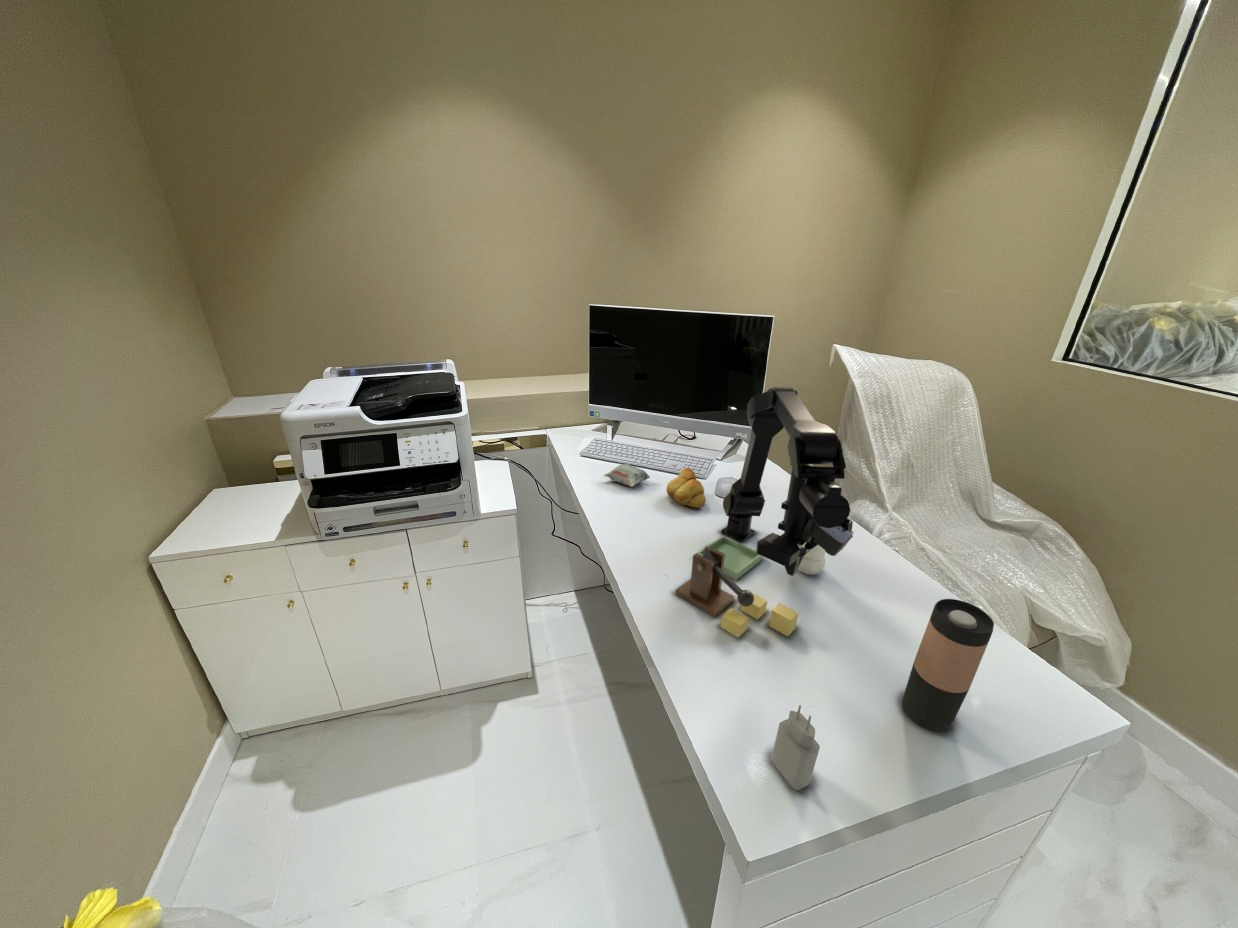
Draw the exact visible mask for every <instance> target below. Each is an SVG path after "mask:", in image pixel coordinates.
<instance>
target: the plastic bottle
mask: <svg viewBox="0 0 1238 928" xmlns="http://www.w3.org/2000/svg"><path fill="white" fill-rule="evenodd" d="M825 566H826V551H825V550H824V549H823V548H822V547H820V546H819V545H817V546H816V547H815V548H813V549H811V550H810V551H809V552H808V553H807V554H806V555H805V556H804V558H803V560H802V562H801V564H800V565H799V567H798V569H797V570H798V571H800V572H801V573H803V574H806V575H812V576H814V575H818V574H820V573H821V572H823V570H824V568H825Z"/></svg>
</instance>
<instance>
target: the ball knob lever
mask: <svg viewBox="0 0 1238 928" xmlns="http://www.w3.org/2000/svg"><path fill="white" fill-rule="evenodd" d="M703 557H705V558H707V559H709V560H711V561H712V562H714V567H713V572H714V573H715V574H716V575H717V576H718V577H719V578H720V579H721V580H722V583H724V584H725V585H727V587H729V589H731V590H732V592H733V593H735V595H737V596H736V597H737V602H738V604H739V605H740V606H741V605H742V606H744V607H748V606H751V605H752V604H753V602H754V595H753V594H754V593H753V592H752V591H750V590H748V589H742V588H741V586H739V585H738V584H737V583H736V582H735V581H734V579H733V578H731V577H729V576H727V575H726V574H725V573H724V572H723V571H722V570H721V569H720V568H719V567H718V566H717V563H718V562H719V561H718V560H717V559H716V558H715V557H714V556H713V555H712V554H711V553H710V552H708V553H706V554H705V555H703ZM752 593H753V594H752Z"/></svg>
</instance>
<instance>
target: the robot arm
mask: <svg viewBox="0 0 1238 928" xmlns="http://www.w3.org/2000/svg"><path fill="white" fill-rule="evenodd" d="M746 418H747V420H748V423H749V426H750V428H751V432H750V437H749V441H748V444H747V449H746V453H745V458H744V462H743V467H742V471H741V475H740V477H739V479H737V480H736V481H735V482H734V483H732V484H731V487H730V491H729V493H727V494H726V495H725V497H723V499H722V509H723V510H724V514H725V515H726V517H728V518H727V523H726V524H727V525H726V527H724V528H722V529H721V531H720V532H721V533H722V534H724V535H726V536H728V537H730V538H733V539H735V540H736V541H739V542H741V543H743V542H745V541H746V540H748V539H749V538H750V537H752V536H753V535H755V534H756V530H754V529H752V528H751V526H752V521H753V517H761V514H762V512H763V509H764V506H765V503H766V500H765V496H764V493H763V490H762V488H761V482H762V478H763V475H764V471H765V468H766V464H767V461H768V457H769V453H770V450H771V446H772V442H773V439H774V437H775V436H777V435H778V434H779V433H780V432H781V431H783V429H784V430H785V431H786V433H787V435H788V436H789V438H788V442H787V453H788V458H789V461H790V462H789V465H790V466H791V473H790V478H789V485H788V490H787V496H786V500H784V501H782V502H781V506H780V508H781V509H783V510H784V514H783V520H781V521H780V522H779V523H778V524H777V529H778V530H781V531H783V533H782V534H780V535H779V534H777V533H775V532H772V533H769V534H768V535H766V536H764V537H763V538H761V539H759V540H758V541H757V542H756V548H755V551H756V552H757V554H759V555H761V556H762V558H766V559H768V560H769V561H773V562H774V563H777V564H779V565H781V566H783V567H784V569H785V572H786V574H787V575H789V576H790V577H793V576H794V575H795V574H796V573H797V571H798V570H799V569H798V567H799V565H800V564H801V562H802V560H803V558H804V556H805V555H806V554H807V553H808V552H809V551H810V550H811V549H813V548H815V547H816V546H817V545H819V546H820V547H822V548H823V549H824V550H825V551H826V552H825V554H827V555H829V556H831V557H835V556H836V555H838V554H839V553H840V552H841V551H843V549H844V548H845V547H846V546H847V544H848V543H849V542H850V540H851V539H852V538H853V534H854V533H855V531H853V522H854V521H853V520H852V519H851V518H850V517H849V516H850V513H851V506H850V503H849V501H848V499H847V498H846V497H845V496H844V495H843V494H842V490H843V488H842V487H841V486H840V485H839V484H838V483H836V482H835V480H844V479H845V477H846V475H845V470H846V469H847V466H846V461H845V456H844V452H843V447H842V441H841V439H840V437H839V436H838V434H837V432H836V431H834V430H833V428H831V427H830V426H829V425H827V424H825V423H821V422H819V421H817V420H816V419H815V418H814V417H813V416H812V415H811V413H810V412H809V410H808V408H807V407H806V406H805V404H804V403H803V402H802V400H801V398H800V397H799V392H798V390H797V388H794V387H792V386H772V387H770V388H768V390H767V391H764V392H762V393H759V394H756V395H754V396H753V397H751V399H750V400H749V401H748V403H747V405H746ZM818 465H832V466H818Z"/></svg>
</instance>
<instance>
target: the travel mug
mask: <svg viewBox="0 0 1238 928" xmlns="http://www.w3.org/2000/svg"><path fill="white" fill-rule="evenodd" d="M994 626H995V623H994V619H992V617H991V616H990V615H989V614H988V613H986V611H984V610H982V609H981V608H980V607H977V606H976V605H974V604H971V603H970V602H966V601H964V600H959V599H955V598H943V599H940V600H938V601H936V603H935V605H934V606H933V608H932V612H931V614H930V617H929V620H928V623H927V625H926V627H925V631H924V633H923V637H922V639H921V641H920V643H919V647H918V649H917V652H916V654H915V658H914V660H913V664H912V667H911V670H910V673H909V677H908V679H907V683H906V686H905V690H904V693H903V697H902V701H901V703H902V709H903V711H904V713H905V714H906V715H907V717H908V718H909V719H910V720H912V722H913V723H915V724H916V725H918V726H920V727H922V728H924V729H926V730H929V731H932V732H945V731H947V730H948V729H950V728H951V727H952V725H953V723H954V721H955V719H956V717H957V715H958V713H959V711H960V709H961V707H962V705H963V703H964V701H965V699H966V697H967V695H968V692H969V690H970V688H971V686H972V684H973V682H974V678H975V676H976V674H977V671H978V668H979V667H980V664H981V662H982V659H983V657H984V654H985V652H986V650H987V648H988V645H989V642H990V641H991V637H992V635H993V633H994Z"/></svg>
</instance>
